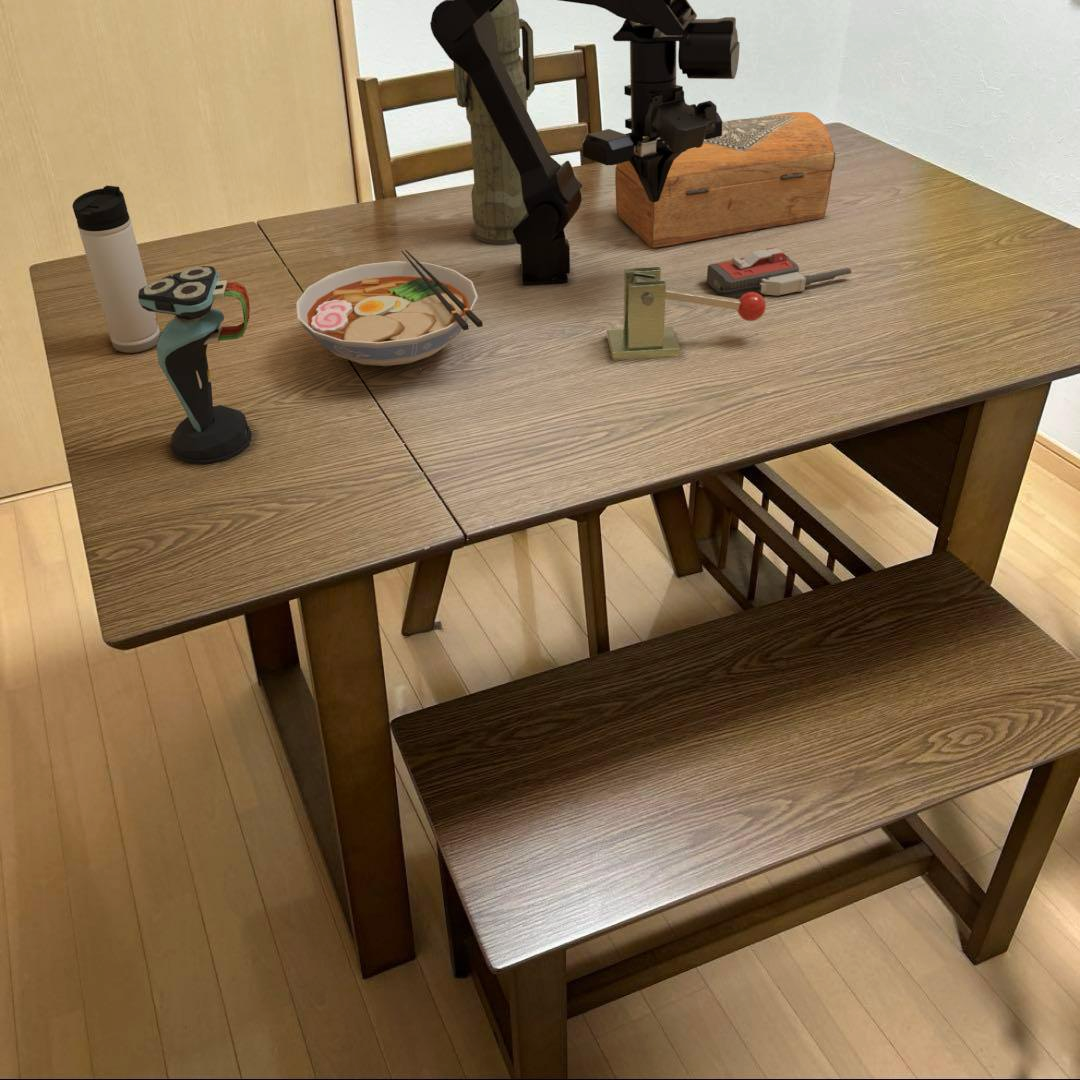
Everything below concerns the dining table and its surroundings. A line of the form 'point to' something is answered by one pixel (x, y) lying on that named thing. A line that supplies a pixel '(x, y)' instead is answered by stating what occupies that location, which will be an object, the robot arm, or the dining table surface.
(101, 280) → the travel mug
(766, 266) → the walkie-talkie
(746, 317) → the switch lever
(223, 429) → the electric shaver
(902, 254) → the dining table surface
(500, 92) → the robot arm
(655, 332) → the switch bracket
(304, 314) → the ramen bowl
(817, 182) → the wooden box
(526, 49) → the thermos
